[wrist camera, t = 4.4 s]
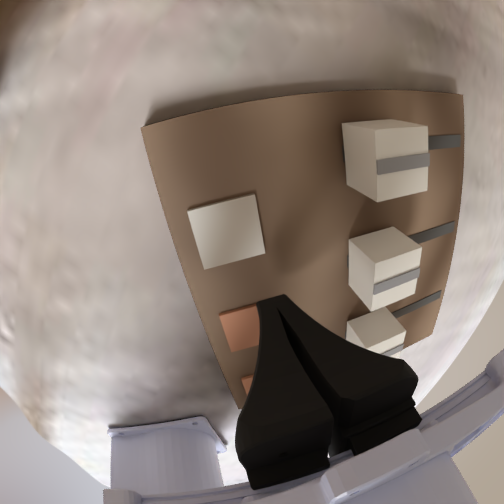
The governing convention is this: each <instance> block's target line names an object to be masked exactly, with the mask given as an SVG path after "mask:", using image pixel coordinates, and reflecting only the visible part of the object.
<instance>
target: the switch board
mask: <svg viewBox="0 0 504 504" xmlns="http://www.w3.org/2000/svg"><path fill="white" fill-rule="evenodd" d="M386 119H394V120H400V121H405V122H410V123H415V124H420V125H424V126H428V153H430V166H428V187H427V191H424V192H419V193H415V194H411V195H406V196H402V197H398V198H394V199H389V200H385V201H381V202H376V201H374V200H372V199H371V198H369V197H367V196H366V195H364V194H362V193H360V192H359V191H357V190H355V189H353V188H352V187H350V186H348V185H347V180H346V166H345V153H344V142H343V132H342V123H350V122H360V121H372V120H386ZM141 132H142V136H143V140H144V144H145V147H146V151H147V155H148V159H149V162H150V166H151V170H152V173H153V177H154V180H155V184H156V187H157V191H158V194H159V197H160V201H161V204H162V207H163V211H164V214H165V217H166V220H167V223H168V227H169V230H170V233H171V236H172V239H173V242H174V245H175V248H176V251H177V254H178V257H179V260H180V263H181V266H182V269H183V271H184V274H185V277H186V280H187V283H188V286H189V288H190V291H191V294H192V297H193V299H194V302H195V305H196V307H197V310H198V313H199V315H200V318H201V320H202V323H203V326H204V328H205V331H206V333H207V336H208V338H209V341H210V343H211V346H212V348H213V351H214V353H215V356H216V358H217V360H218V363H219V365H220V368H221V370H222V372H223V375H224V377H225V379H226V382H227V384H228V386H229V389H230V391H231V393H232V395H233V398H234V400H235V402H236V404H237V406H238V409H242V408H243V406H244V404H245V401H246V398H247V395H248V392H249V390H250V387H251V383H252V380H253V376H254V371H255V367H256V362H257V356H258V348H259V334H260V323H259V315H258V311H257V306H256V303H257V302H258V301H261V300H264V299H268V298H271V297H275V296H278V295H282V294H285V295H287V296H288V297H289V298H290V299H291V300H292V301H293V302H294V303H295V304H296V305H297V306H298V307H300V308H301V309H302V310H303V311H304V312H305V313H307V314H308V315H309V316H310V317H312V318H313V319H314V320H315V321H317V322H318V323H320V324H321V325H322V326H324V327H325V328H327V329H328V330H330V331H331V332H333V333H335V334H336V335H338V336H340V337H342V338H344V339H345V340H346V334H347V321H350V320H353V319H355V318H358V317H360V316H363V315H366V314H368V313H371V311H370V310H369V309H368V307H367V306H366V305H365V304H364V303H363V301H362V300H361V299H360V298H359V297H358V295H357V294H356V293H355V292H354V291H353V289H352V288H351V287H350V286H349V239H351V238H355V237H358V236H362V235H365V234H369V233H372V232H376V231H379V230H383V229H386V228H390V227H395V228H396V229H398V230H399V231H401V232H402V233H403V234H405V235H406V236H408V237H409V238H410V239H412V240H413V241H414V242H416V243H417V244H419V245H420V246H421V247H422V252H421V259H420V266H419V267H420V274H419V277H418V278H417V284H416V289H415V294H413V295H410V296H408V297H406V298H404V299H401V300H399V301H396V302H394V303H392V304H389V305H387V306H384V307H386V308H387V309H388V310H389V311H390V312H391V314H392V315H393V316H394V317H395V318H396V319H397V320H398V322H399V323H400V324H401V325H402V326H403V327H404V329H405V330H406V334H405V338H404V342H403V344H404V346H403V349H404V348H406V347H408V346H410V345H412V344H414V343H416V342H418V341H420V340H422V339H424V338H426V337H428V336H429V335H431V334H432V332H433V329H434V326H435V323H436V320H437V316H438V313H439V310H440V306H441V302H442V299H443V295H444V291H445V287H446V283H447V279H448V275H449V270H450V265H451V261H452V256H453V250H454V245H455V239H456V233H457V227H458V220H459V212H460V204H461V194H462V183H463V168H464V105H463V95H461V94H453V93H443V92H431V91H413V90H350V91H332V92H319V93H308V94H298V95H289V96H281V97H274V98H267V99H260V100H254V101H248V102H242V103H237V104H232V105H227V106H222V107H217V108H212V109H208V110H203V111H199V112H195V113H191V114H187V115H183V116H179V117H175V118H171V119H168V120H164V121H160V122H157V123H154V124H150V125H147V126H144V127H141ZM382 308H383V307H382ZM379 309H381V308H379ZM377 310H378V309H377ZM374 311H376V310H374ZM372 312H373V311H372Z"/></svg>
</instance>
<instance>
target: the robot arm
mask: <svg viewBox="0 0 504 504" xmlns="http://www.w3.org/2000/svg"><path fill="white" fill-rule="evenodd" d="M256 306H257V311H258V315H259V323H260V334H259V348H258V356H257V362H256V367H255V371H254V376H253V380H252V383H251V387H250V390H249V392H248V395H247V398H246V401H245V404H244V406H243V408H242V411H241V413H240V415H239V417H238V420H237V427H236V435H235V447H236V452H237V455H238V459H239V461H240V463H241V464H242V465H243V467H244V468H245V469H246V472H247V476H248V480H249V482H245V483H240V484H235V485H229V486H224V484H223V479H222V475H221V470H220V465H219V460H218V455H217V454H218V453H223V452H226V451H227V449H226V446H225V445H224V444H223V442H222V441H221V439H220V438H219V436H218V435H217V434H216V432H215V431H214V429H213V428H212V426H211V425H210V423H209V422H208V420H207V419H206V418H205V417H202V416H199V417H194V418H189V419H183V420H177V421H171V422H165V423H158V424H151V425H143V426H135V427H126V428H115V429H108V433H107V434H108V435H109V436H110V437H112V441H111V489H104V490H103V494H104V495H103V496H104V497H103V501H104V504H478V502H477V500H476V499H475V497H474V495H473V493H472V492H471V490H470V488H469V487H468V485H467V483H466V481H465V480H464V478H463V476H462V475H461V473H460V471H459V470H458V468H457V466H456V465H455V463H454V461H453V460H452V458H451V457H452V456H454V455H455V454H456V453H458V452H459V451H460V450H462V449H463V448H464V447H465V446H467V445H468V444H469V443H471V442H472V441H473V440H474V439H475V438H477V437H478V436H479V435H480V434H481V433H482V432H484V430H486V429H487V428H488V427H489V426H490V425H491V424H493V422H495V421H496V420H497V419H498V418H499V417H500V416H501V415H502V414H503V413H504V349H503V350H502V351H500V353H498V354H497V355H496V356H494V357H493V358H492V359H491V360H490V362H489V363H488V364H487V366H486V368H485V371H483V372H482V373H481V374H479V375H478V376H477V377H476V378H474V379H473V380H472V381H470V382H469V383H467V384H466V385H465V386H464V387H462V388H460V389H459V390H458V391H456V392H455V393H453V394H452V395H451V396H449V397H447V398H446V399H444V400H443V401H441V402H440V403H438V404H437V405H435V406H433V407H432V408H430V409H429V410H427V411H425V412H424V413H422V414H420V415H419V414H418V412H417V411H416V409H415V407H414V406H415V401H414V400H413V398H412V395H413V393H414V391H415V389H416V386H417V383H418V376H417V375H416V373H415V372H414V371H413V369H412V368H411V367H410V366H409V365H408V364H407V363H406V362H405V361H404V360H402V359H398V358H394V357H389V356H385V355H382V354H379V353H376V352H373V351H370V350H368V349H365V348H363V347H360V346H358V345H356V344H353V343H351V342H349V341H347V340H345V339H344V338H342V337H340V336H338V335H336V334H335V333H333V332H331V331H330V330H328V329H327V328H325V327H324V326H322V325H321V324H320V323H318V322H317V321H315V320H314V319H313V318H312V317H310V316H309V315H308V314H307V313H305V312H304V311H303V310H302V309H301V308H300V307H298V306H297V305H296V304H295V303H294V302H293V301H292V300H291V299H290V298H289V297H288V296H287V295H285V294H282V295H278V296H275V297H271V298H268V299H264V300H261V301H258V302H257V303H256ZM328 453H329V456H330V458H328V457H327V456H328Z"/></svg>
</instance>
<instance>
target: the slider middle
mask: <svg viewBox="0 0 504 504" xmlns="http://www.w3.org/2000/svg"><path fill="white" fill-rule="evenodd" d="M421 252H422V247H421V246H420V245H419V244H417V243H416V242H414V241H413V240H412V239H410V238H409V237H408V236H406V235H405V234H403V233H402V232H401V231H399V230H398V229H396V228H395V227H390V228H386V229H383V230H379V231H376V232H372V233H369V234H365V235H362V236H358V237H355V238H351V239H349V286H350V287H351V288H352V289H353V291H354V292H355V293H356V294H357V295H358V297H359V298H360V299H361V300H362V301H363V303H364V304H365V305H366V306H367V307H368V309H369V310H370V311H371V312H372V311H374V310H377V309H379V308H382V307H384V306H387V305H389V304H392V303H394V302H396V301H399V300H401V299H404V298H406V297H408V296H410V295H413V294H415V289H416V284H417V278H418V277H419V274H420V267H419V266H420V259H421Z"/></svg>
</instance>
